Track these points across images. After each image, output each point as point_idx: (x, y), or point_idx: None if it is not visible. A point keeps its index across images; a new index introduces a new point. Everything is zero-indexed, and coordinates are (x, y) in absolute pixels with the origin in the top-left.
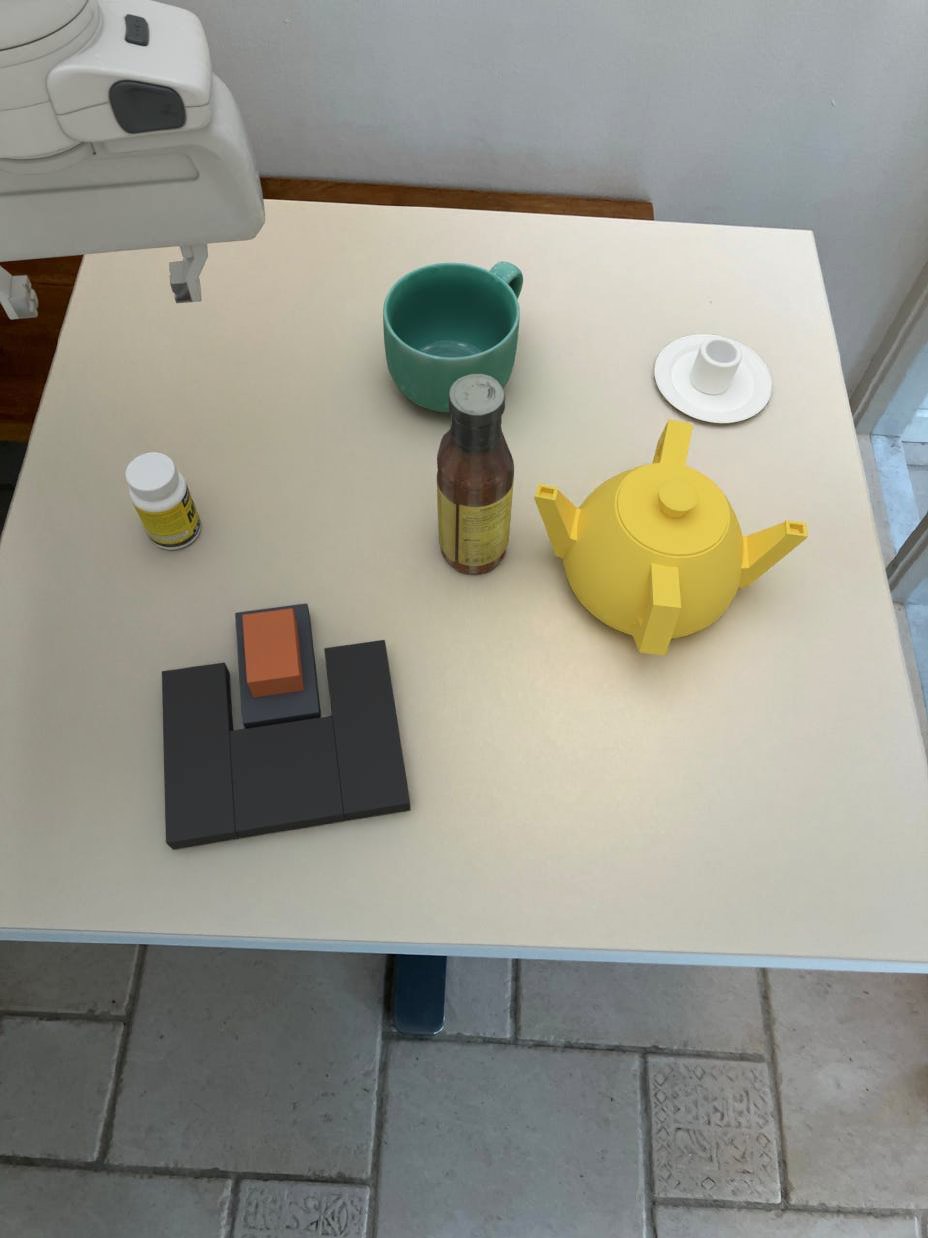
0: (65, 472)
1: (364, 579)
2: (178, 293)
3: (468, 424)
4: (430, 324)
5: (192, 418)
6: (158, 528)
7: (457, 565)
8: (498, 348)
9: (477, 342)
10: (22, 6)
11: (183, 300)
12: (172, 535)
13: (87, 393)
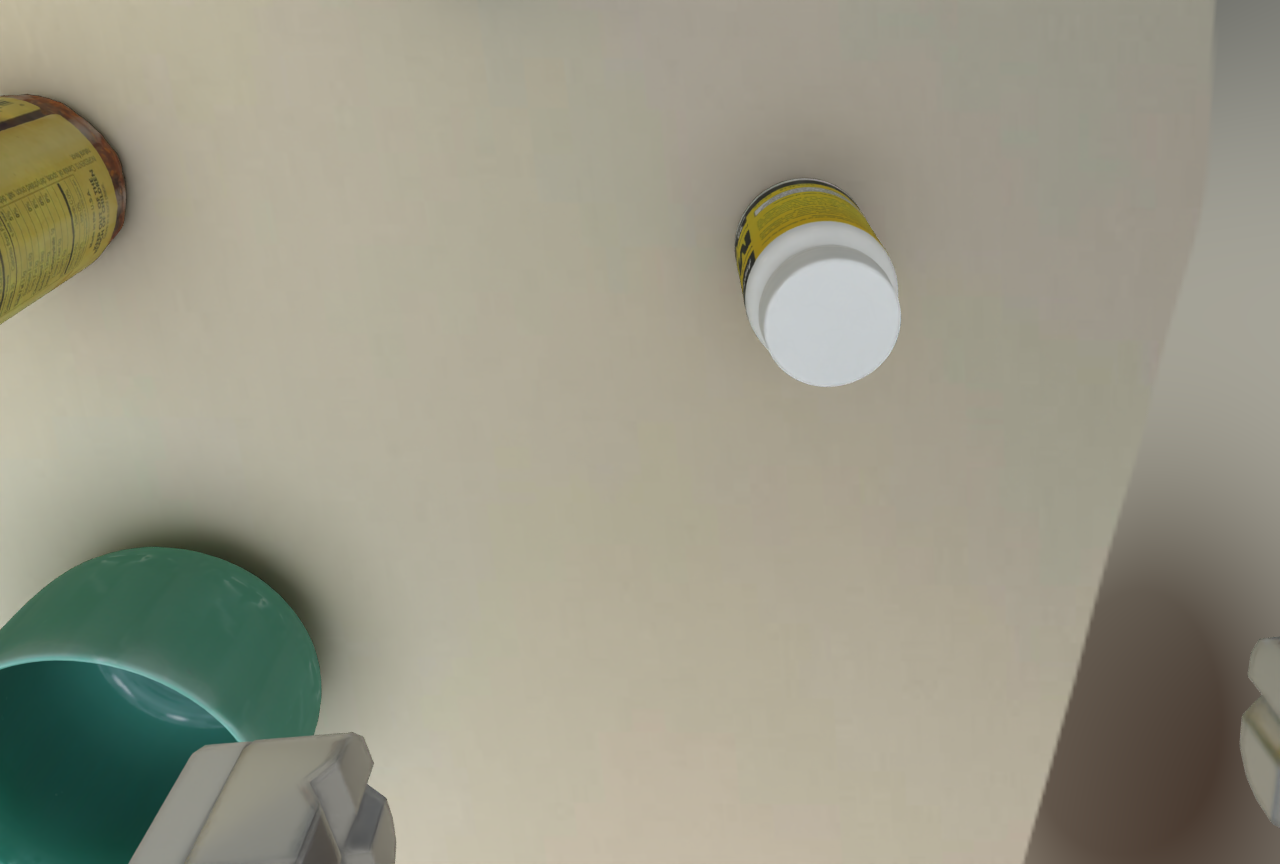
0: (1069, 405)
1: (308, 85)
2: (286, 790)
3: None
4: None
5: (776, 544)
6: (824, 200)
7: (56, 109)
8: None
9: (138, 722)
10: None
11: (289, 746)
12: (793, 194)
13: (1018, 609)
